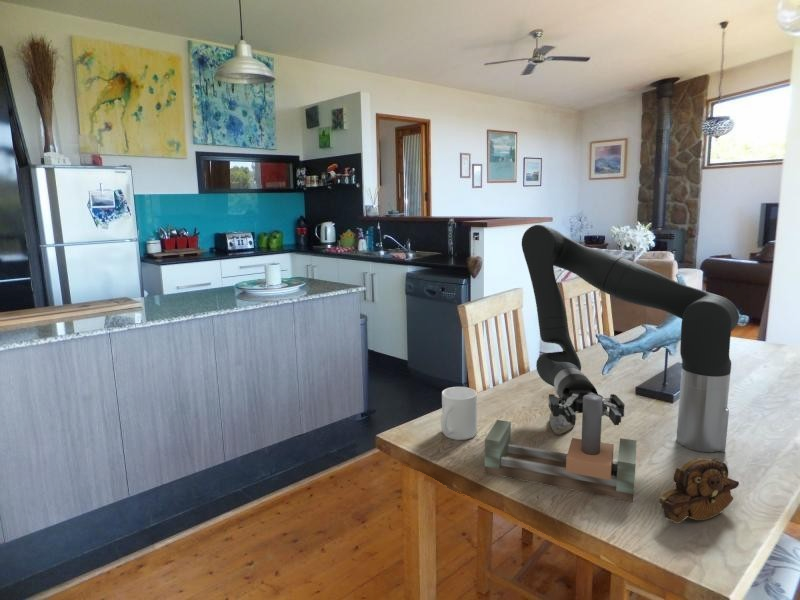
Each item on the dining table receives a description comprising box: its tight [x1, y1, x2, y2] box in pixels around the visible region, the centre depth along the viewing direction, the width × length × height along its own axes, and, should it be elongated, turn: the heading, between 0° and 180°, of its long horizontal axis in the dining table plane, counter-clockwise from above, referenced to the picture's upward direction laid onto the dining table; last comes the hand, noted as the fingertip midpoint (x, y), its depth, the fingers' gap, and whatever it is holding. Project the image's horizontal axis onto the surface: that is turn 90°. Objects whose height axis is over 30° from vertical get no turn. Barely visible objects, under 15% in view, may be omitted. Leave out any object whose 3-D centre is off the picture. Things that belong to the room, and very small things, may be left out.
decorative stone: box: [549, 404, 577, 435], centre depth 130 cm, size 6×16×3 cm, turn 157°
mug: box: [440, 386, 478, 441], centre depth 124 cm, size 12×8×10 cm
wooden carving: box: [658, 457, 740, 524], centre depth 90 cm, size 16×5×10 cm, turn 115°
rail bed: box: [484, 419, 637, 502], centre depth 106 cm, size 28×10×8 cm, turn 65°
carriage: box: [566, 395, 615, 480], centre depth 102 cm, size 8×9×14 cm
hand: (595, 420), depth 99 cm, fingers open, 7 cm apart
